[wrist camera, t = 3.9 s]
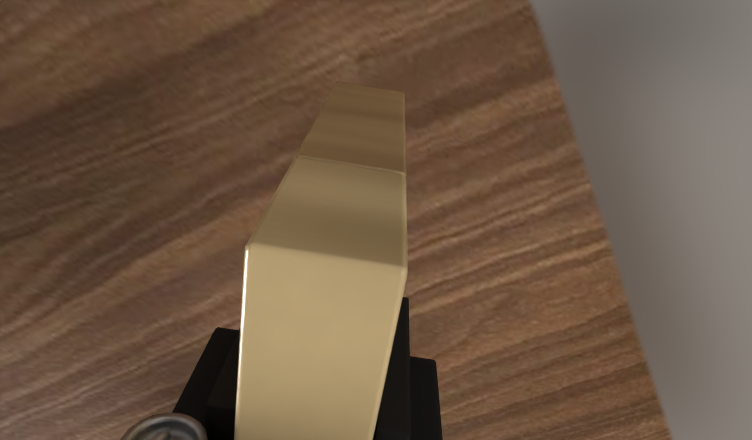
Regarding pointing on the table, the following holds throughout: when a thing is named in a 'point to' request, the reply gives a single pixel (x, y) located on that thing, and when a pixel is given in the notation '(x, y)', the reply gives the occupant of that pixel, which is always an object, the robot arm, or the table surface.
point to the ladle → (327, 277)
